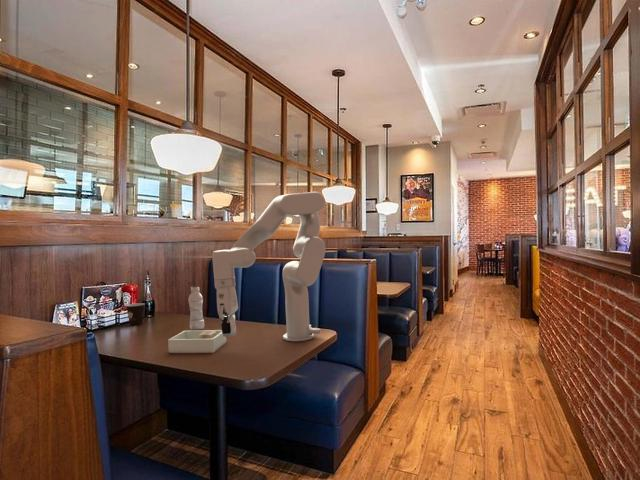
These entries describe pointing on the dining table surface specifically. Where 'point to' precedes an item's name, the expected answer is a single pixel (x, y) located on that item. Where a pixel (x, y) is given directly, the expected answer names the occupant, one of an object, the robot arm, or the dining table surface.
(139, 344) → the dining table surface
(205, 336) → the maple cube
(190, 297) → the plastic bottle
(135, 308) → the coffee mug
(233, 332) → the steel cylinder
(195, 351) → the tote
